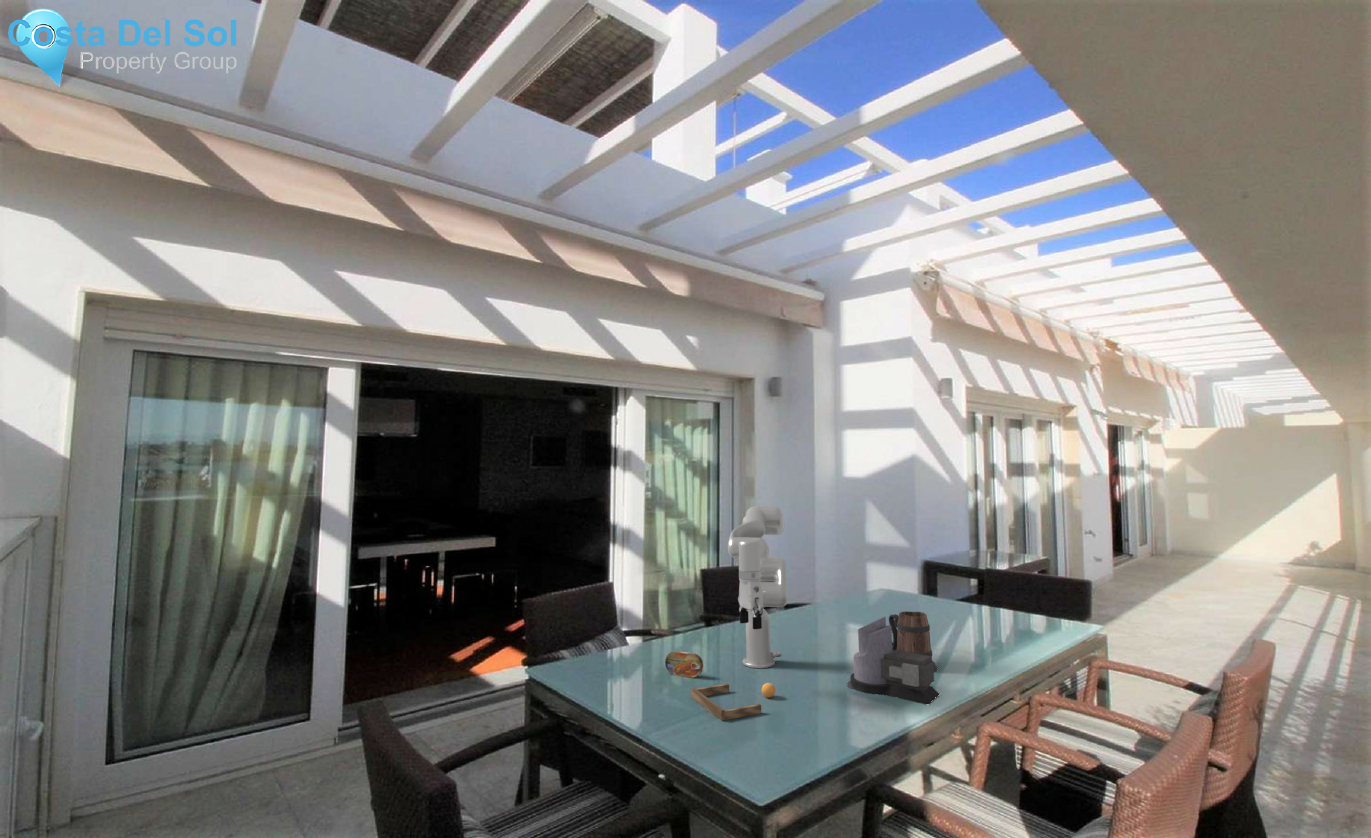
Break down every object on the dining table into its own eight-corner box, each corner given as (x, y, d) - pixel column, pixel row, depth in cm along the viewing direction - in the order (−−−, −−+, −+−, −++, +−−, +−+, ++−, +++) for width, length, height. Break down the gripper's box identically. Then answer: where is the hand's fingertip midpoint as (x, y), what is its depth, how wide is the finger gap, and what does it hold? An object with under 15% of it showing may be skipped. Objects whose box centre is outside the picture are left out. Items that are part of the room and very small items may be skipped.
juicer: (839, 687, 216) (837, 615, 218) (858, 675, 229) (856, 607, 231) (926, 707, 197) (923, 628, 199) (942, 693, 210) (939, 619, 212)
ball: (770, 693, 210) (770, 680, 210) (778, 698, 206) (777, 684, 206) (759, 696, 208) (759, 682, 209) (766, 700, 204) (766, 686, 204)
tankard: (948, 669, 234) (946, 615, 236) (914, 676, 227) (912, 620, 229) (902, 653, 255) (900, 604, 257) (870, 659, 248) (868, 608, 250)
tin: (664, 673, 232) (664, 650, 233) (668, 671, 235) (668, 648, 236) (700, 679, 225) (700, 655, 226) (704, 677, 228) (704, 653, 229)
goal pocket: (727, 691, 213) (727, 682, 213) (761, 713, 193) (761, 703, 193) (691, 697, 207) (690, 688, 208) (721, 720, 187) (721, 710, 188)
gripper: (771, 578, 211) (772, 630, 209) (748, 571, 227) (748, 619, 225) (751, 580, 208) (752, 632, 206) (729, 573, 224) (730, 621, 222)
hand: (750, 625), depth 216 cm, fingers open, 9 cm apart
